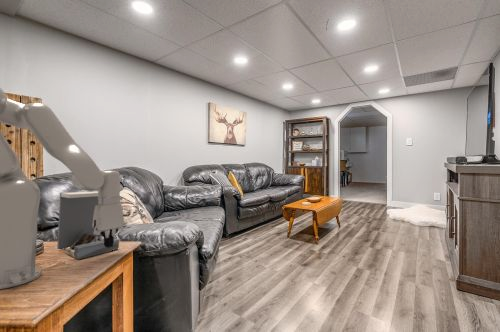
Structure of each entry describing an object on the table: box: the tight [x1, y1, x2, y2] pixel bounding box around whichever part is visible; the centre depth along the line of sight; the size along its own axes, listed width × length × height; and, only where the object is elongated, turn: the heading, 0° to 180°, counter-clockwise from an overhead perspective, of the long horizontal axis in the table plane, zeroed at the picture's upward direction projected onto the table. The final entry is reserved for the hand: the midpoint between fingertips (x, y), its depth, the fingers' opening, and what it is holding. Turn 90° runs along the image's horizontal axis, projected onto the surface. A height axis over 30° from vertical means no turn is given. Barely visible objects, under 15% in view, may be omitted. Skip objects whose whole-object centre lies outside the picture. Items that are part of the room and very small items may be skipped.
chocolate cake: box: [70, 230, 98, 250], centre depth 100 cm, size 10×7×12 cm
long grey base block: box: [64, 237, 120, 260], centre depth 96 cm, size 12×15×4 cm
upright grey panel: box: [57, 190, 98, 250], centre depth 102 cm, size 10×15×24 cm, turn 148°
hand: (108, 246), depth 91 cm, fingers closed
